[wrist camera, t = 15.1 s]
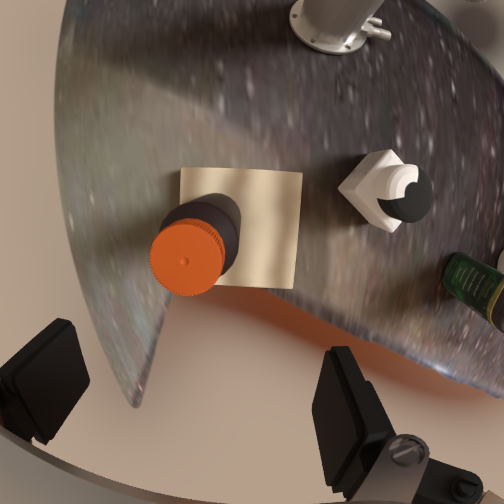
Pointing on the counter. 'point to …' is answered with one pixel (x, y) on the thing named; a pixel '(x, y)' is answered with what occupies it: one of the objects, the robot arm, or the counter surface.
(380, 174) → the container
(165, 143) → the counter surface
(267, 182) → the plate
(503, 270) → the milk bottle
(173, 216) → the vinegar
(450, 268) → the coffee jar
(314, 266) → the counter surface
